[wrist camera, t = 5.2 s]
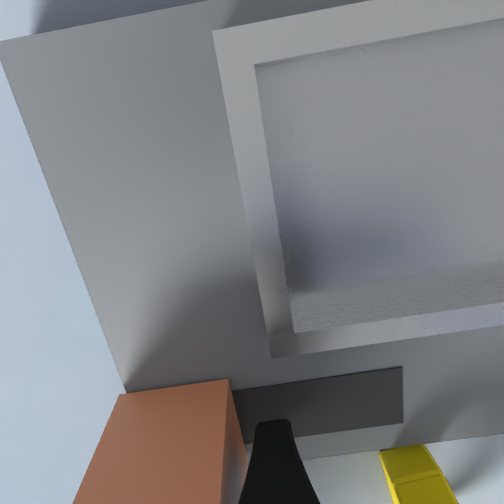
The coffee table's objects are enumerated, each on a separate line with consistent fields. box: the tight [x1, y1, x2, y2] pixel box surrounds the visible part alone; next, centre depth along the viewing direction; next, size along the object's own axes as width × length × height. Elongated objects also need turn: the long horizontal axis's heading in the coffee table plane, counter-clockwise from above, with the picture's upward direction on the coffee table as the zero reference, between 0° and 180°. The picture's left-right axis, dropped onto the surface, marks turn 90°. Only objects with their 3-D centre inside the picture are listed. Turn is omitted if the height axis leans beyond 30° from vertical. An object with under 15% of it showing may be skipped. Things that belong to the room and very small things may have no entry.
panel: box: [0, 0, 504, 466], centre depth 9 cm, size 14×12×1 cm
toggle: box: [73, 379, 248, 504], centre depth 9 cm, size 3×3×4 cm
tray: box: [212, 0, 504, 359], centre depth 8 cm, size 10×7×1 cm
